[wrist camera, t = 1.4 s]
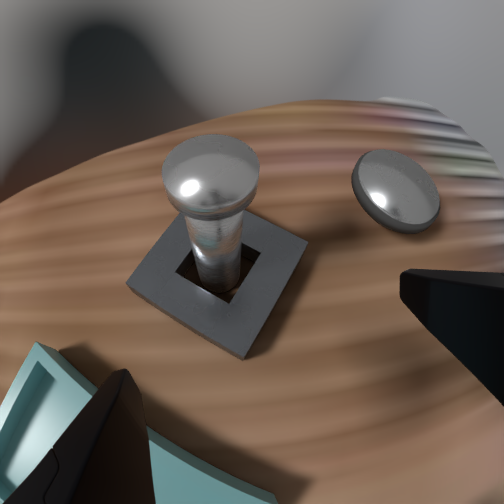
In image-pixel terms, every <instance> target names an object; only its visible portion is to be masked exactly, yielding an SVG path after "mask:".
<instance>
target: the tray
mask: <svg viewBox="0 0 504 504" xmlns="http://www.w3.org/2000/svg"><path fill="white" fill-rule="evenodd" d="M97 390H98V388H97V387H96V386H95V385H93V384H92V383H91V382H90V381H89V380H88V379H87V378H85V377H84V376H83V375H82V374H81V373H80V372H79V371H78V370H77V369H75V368H74V367H73V366H72V365H71V364H70V363H69V362H68V361H67V360H66V359H65V358H64V357H63V356H62V355H61V354H60V353H59V352H58V351H57V350H56V349H53V348H51V347H48V346H46V345H43V344H41V343H38V342H36V343H35V344H34V346H33V348H32V349H31V351H30V353H29V354H28V356H27V358H26V359H25V361H24V363H23V365H22V367H21V368H20V370H19V372H18V374H17V376H16V377H15V379H14V381H13V383H12V385H11V387H10V389H9V391H8V393H7V395H6V397H5V399H4V401H3V403H2V405H1V407H0V504H2V503H3V502H4V501H5V500H6V499H7V498H8V497H9V496H10V495H11V494H12V493H13V492H14V491H15V489H16V488H17V487H18V486H19V485H20V484H21V483H22V482H23V481H24V480H25V479H26V478H27V476H28V475H29V474H30V473H31V472H32V471H33V470H34V469H35V467H36V466H37V465H38V464H39V462H40V461H41V460H42V459H43V458H44V456H45V455H46V454H47V452H48V451H49V450H50V449H51V448H53V447H52V446H53V445H54V444H55V442H56V441H57V440H58V439H59V437H60V436H61V435H62V433H63V432H64V431H65V430H66V428H67V427H68V426H69V425H70V423H71V422H72V421H73V420H74V419H75V417H76V416H77V415H78V414H79V412H80V411H81V410H82V409H83V407H84V406H85V405H86V404H87V403H88V401H89V400H90V399H91V398H92V396H93V395H94V394H95V393H96V392H97ZM146 426H147V425H146ZM147 431H148V437H149V445H150V456H151V467H152V476H153V485H154V493H155V500H156V504H278V502H277V500H276V498H275V496H274V494H273V493H270V492H268V491H265V490H263V489H260V488H258V487H256V486H253V485H251V484H249V483H247V482H245V481H242V480H240V479H238V478H236V477H234V476H232V475H230V474H228V473H226V472H224V471H222V470H220V469H218V468H216V467H214V466H212V465H210V464H208V463H207V462H205V461H203V460H201V459H199V458H198V457H196V456H194V455H192V454H191V453H189V452H187V451H185V450H184V449H182V448H180V447H179V446H177V445H176V444H174V443H172V442H171V441H169V440H168V439H166V438H164V437H163V436H161V435H160V434H158V433H157V432H155V431H154V430H152V429H151V428H149V427H148V426H147Z"/></svg>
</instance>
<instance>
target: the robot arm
mask: <svg viewBox="0 0 504 504" xmlns="http://www.w3.org/2000/svg"><path fill="white" fill-rule="evenodd" d="M400 298H401V300H402V302H403V303H404V304H405V305H406V306H407V307H408V308H409V309H410V311H411V312H412V313H413V314H414V315H415V316H416V317H417V318H418V320H419V321H420V322H421V323H422V324H423V325H424V326H425V328H426V329H427V330H428V331H429V332H430V333H431V334H433V335H434V336H435V337H436V338H437V339H438V340H439V341H440V342H441V343H442V344H443V345H444V346H445V347H446V348H447V349H448V350H449V351H450V352H451V353H452V354H453V355H454V356H455V357H456V358H457V359H458V360H459V361H460V362H461V363H462V364H463V365H464V366H465V367H466V368H467V369H468V370H469V371H470V372H471V373H472V374H473V375H474V376H475V377H476V378H477V379H478V380H479V381H480V382H481V383H482V384H483V385H484V386H485V387H486V388H487V389H488V390H489V391H490V392H491V393H492V394H493V395H494V396H495V397H496V399H497V400H498V401H499V402H500V403H501V404H502V405H503V406H504V273H494V272H471V271H449V270H428V269H408V270H406V271H404V272H402V273H401V275H400ZM52 447H53V448H51V449H50V450H49V451H48V452H47V454H46V455H45V456H44V458H43V459H42V460H41V461H40V462H39V464H38V465H37V466H36V467H35V469H34V470H33V471H32V472H31V473H30V474H29V475H28V476H27V478H26V479H25V480H24V481H23V482H22V483H21V484H20V485H19V486H18V487H17V488H16V489H15V491H14V492H13V493H12V494H11V495H10V496H9V497H8V498H7V499H6V500H5V501H4V502H3V503H2V504H156V500H155V493H154V485H153V476H152V467H151V456H150V445H149V437H148V431H147V426H146V421H145V416H144V410H143V404H142V398H141V393H140V391H139V389H138V387H137V385H136V383H135V382H134V380H133V378H132V376H131V374H130V373H129V371H128V370H127V369H120V370H116V371H113V372H112V373H111V375H110V376H109V377H108V378H107V379H106V381H105V382H104V383H103V384H102V385H101V387H100V388H99V389H98V390H97V392H96V393H95V394H94V395H93V396H92V398H91V399H90V400H89V401H88V403H87V404H86V405H85V406H84V407H83V409H82V410H81V411H80V412H79V414H78V415H77V416H76V417H75V419H74V420H73V421H72V422H71V423H70V425H69V426H68V427H67V428H66V430H65V431H64V432H63V433H62V435H61V436H60V437H59V439H58V440H57V441H56V442H55V444H54V445H53V446H52Z"/></svg>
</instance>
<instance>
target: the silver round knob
mask: <svg viewBox="0 0 504 504" xmlns="http://www.w3.org/2000/svg"><path fill="white" fill-rule="evenodd" d="M352 188H353V191H354V194H355V196H356V198H357V200H358V201H359V203H360V205H361V206H362V208H363V209H364V210H365V211H366V212H367V214H368V215H369V216H370V217H372V218H373V219H374V220H375V221H376V222H378V223H379V224H381V225H382V226H384V227H386V228H388V229H390V230H393V231H396V232H400V233H405V234H415V233H420V232H422V231H424V230H426V229H427V228H428V227H429V226H430V225H431V224H432V223H433V222H434V221H435V219H436V218H437V216H438V214H439V210H440V200H439V194H438V191H437V188H436V186H435V184H434V182H433V180H432V178H431V177H430V176H429V174H428V173H427V172H426V171H425V170H424V169H423V168H422V167H421V166H420V165H419V164H418V163H416V162H415V161H414V160H412V159H411V158H409V157H407V156H405V155H403V154H401V153H398V152H395V151H391V150H385V149H380V150H374V151H370V152H367V153H365V154H364V155H362V156H361V157H360V158H359V160H358V161H357V163H356V165H355V168H354V170H353V173H352Z"/></svg>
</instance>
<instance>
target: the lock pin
mask: <svg viewBox="0 0 504 504" xmlns="http://www.w3.org/2000/svg"><path fill="white" fill-rule="evenodd" d="M259 168H260V166H259V160H258V157H257V156H256V154H255V152H254V151H253V150H252V149H251V148H250V147H249V146H248V145H247V144H246V143H244V142H242V141H241V140H239V139H236V138H233V137H230V136H226V135H218V134H209V135H201V136H197V137H194V138H191V139H188V140H186V141H184V142H182V143H180V144H179V145H178V146H176V147H175V148H174V149H173V150H172V151H171V152H170V153H169V154H168V156H167V157H166V159H165V161H164V163H163V167H162V178H163V182H164V186H165V189H166V193H167V197H168V199H169V201H170V203H171V204H172V206H173V207H174V208H175V209H176V210H177V211H178V212H180V213H181V214H183V215H184V216H185V220H186V225H187V229H188V233H189V238H190V242H191V246H192V250H193V254H194V258H195V262H196V266H197V270H198V274H199V278H200V281H201V283H202V285H203V286H204V287H205V288H206V289H208V290H210V291H212V292H217V293H222V292H226V291H229V290H230V289H232V288H233V287H234V286H235V285H236V284H237V282H238V280H239V277H240V260H241V242H242V225H243V210H244V209H245V208H246V207H247V206H248V205H249V204H250V203H251V202H252V200H253V199H254V197H255V195H256V192H257V187H258V178H259Z"/></svg>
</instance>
